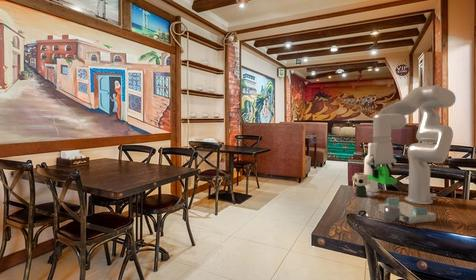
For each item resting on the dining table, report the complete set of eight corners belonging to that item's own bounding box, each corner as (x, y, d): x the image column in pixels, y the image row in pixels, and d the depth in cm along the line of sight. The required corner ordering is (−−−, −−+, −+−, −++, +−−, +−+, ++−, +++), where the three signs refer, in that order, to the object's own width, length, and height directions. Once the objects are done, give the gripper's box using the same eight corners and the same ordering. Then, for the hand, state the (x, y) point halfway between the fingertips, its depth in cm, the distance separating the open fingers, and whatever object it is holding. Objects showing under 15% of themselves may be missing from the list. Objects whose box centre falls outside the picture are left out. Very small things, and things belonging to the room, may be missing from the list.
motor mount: (402, 207, 136) (402, 196, 135) (435, 220, 118) (436, 207, 118) (364, 211, 131) (364, 199, 131) (392, 225, 113) (393, 211, 113)
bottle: (360, 189, 171) (361, 143, 168) (370, 188, 173) (371, 142, 171) (371, 193, 163) (372, 144, 161) (380, 191, 166) (381, 143, 164)
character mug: (348, 194, 160) (349, 173, 159) (355, 192, 164) (356, 171, 163) (366, 199, 151) (366, 176, 150) (373, 196, 155) (373, 174, 154)
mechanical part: (396, 183, 125) (396, 166, 124) (385, 184, 124) (385, 167, 123) (378, 177, 136) (378, 162, 136) (368, 178, 135) (367, 163, 135)
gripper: (391, 138, 134) (391, 174, 135) (360, 140, 131) (360, 176, 132) (403, 139, 126) (403, 177, 128) (371, 141, 123) (370, 180, 125)
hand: (381, 176), depth 130 cm, fingers closed on mechanical part, 6 cm apart
